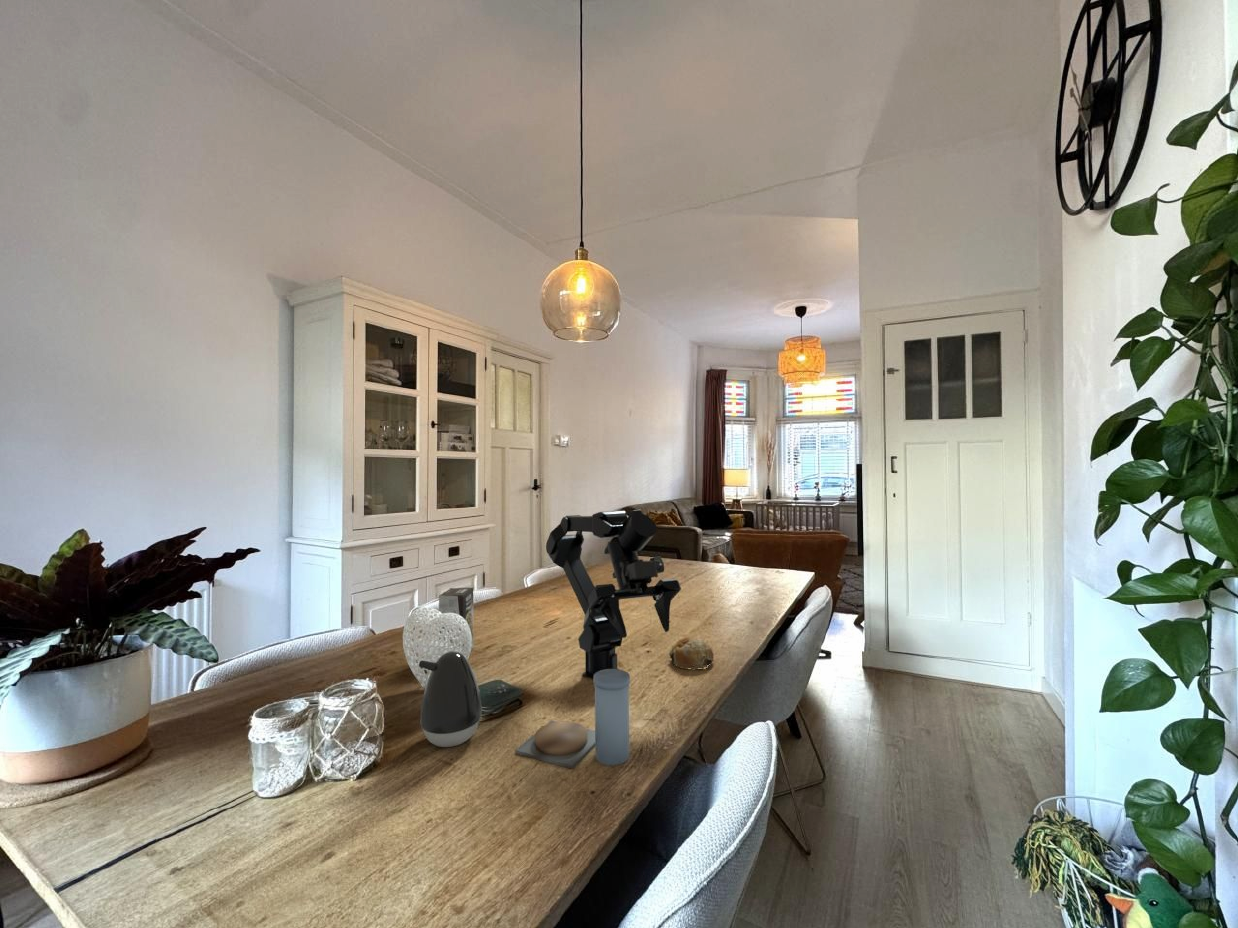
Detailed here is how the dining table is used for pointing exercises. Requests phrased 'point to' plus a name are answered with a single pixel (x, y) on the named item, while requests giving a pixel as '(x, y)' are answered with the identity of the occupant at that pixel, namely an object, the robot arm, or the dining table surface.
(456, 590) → the coffee box
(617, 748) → the canister
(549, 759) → the grey brown domed tile
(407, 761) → the dining table surface
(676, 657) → the brown domed lump
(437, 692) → the pump dispenser
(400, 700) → the dining table surface
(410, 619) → the decorative heart
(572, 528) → the robot arm
